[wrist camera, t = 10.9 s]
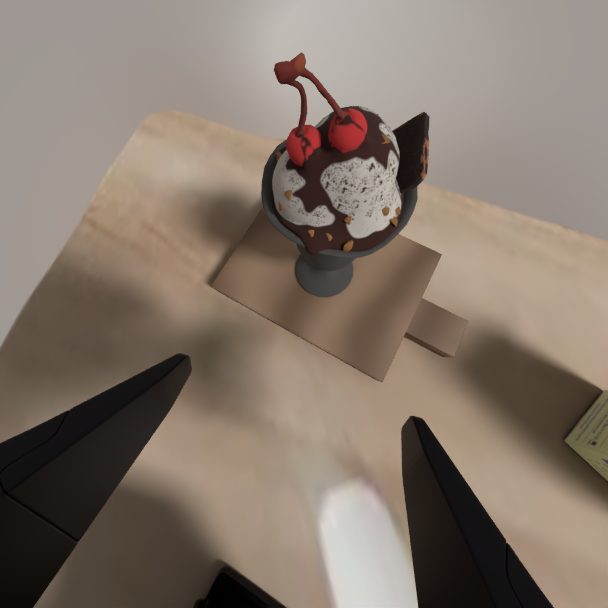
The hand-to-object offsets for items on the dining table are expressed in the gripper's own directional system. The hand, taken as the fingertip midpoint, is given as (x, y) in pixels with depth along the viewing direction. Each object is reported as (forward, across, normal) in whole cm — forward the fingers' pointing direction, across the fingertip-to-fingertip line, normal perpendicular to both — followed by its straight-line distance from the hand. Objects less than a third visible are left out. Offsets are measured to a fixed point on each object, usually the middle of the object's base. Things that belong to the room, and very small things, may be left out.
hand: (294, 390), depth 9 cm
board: (+13, -2, +2) cm, 13 cm away
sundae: (+13, 0, 0) cm, 13 cm away
